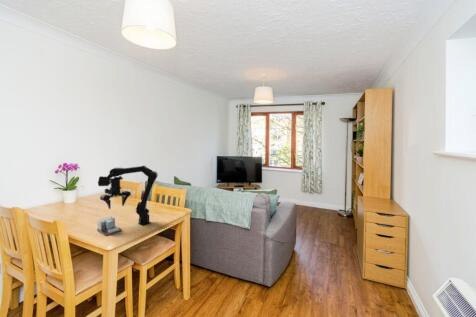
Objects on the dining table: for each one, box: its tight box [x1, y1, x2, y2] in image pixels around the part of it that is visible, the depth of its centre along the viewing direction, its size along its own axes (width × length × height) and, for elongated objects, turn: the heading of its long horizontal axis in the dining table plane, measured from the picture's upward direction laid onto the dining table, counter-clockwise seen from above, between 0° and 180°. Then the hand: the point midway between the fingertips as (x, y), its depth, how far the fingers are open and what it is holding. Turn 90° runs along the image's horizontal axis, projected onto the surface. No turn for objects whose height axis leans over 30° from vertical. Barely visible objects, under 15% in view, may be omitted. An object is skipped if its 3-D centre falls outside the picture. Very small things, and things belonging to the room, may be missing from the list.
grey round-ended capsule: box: [106, 219, 116, 231], centre depth 153 cm, size 5×5×6 cm
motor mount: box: [96, 216, 123, 237], centre depth 154 cm, size 10×13×7 cm
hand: (116, 207), depth 163 cm, fingers open, 9 cm apart
